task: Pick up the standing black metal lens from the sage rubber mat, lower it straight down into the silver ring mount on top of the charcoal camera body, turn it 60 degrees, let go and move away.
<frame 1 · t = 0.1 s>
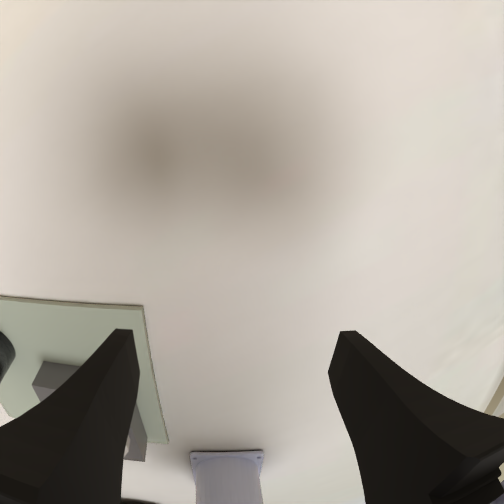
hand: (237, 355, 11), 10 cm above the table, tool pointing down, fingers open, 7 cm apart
camera body: (97, 404, 24), resting on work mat
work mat: (54, 377, 23), on the table
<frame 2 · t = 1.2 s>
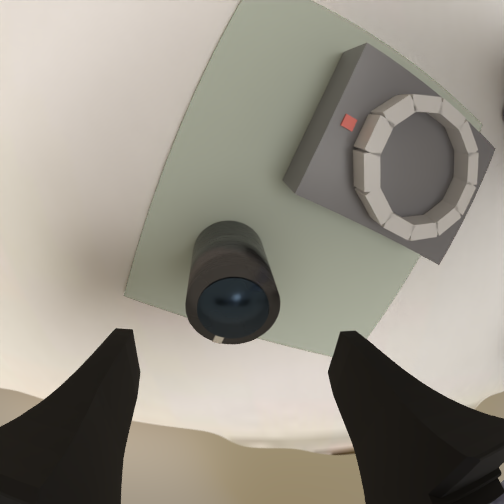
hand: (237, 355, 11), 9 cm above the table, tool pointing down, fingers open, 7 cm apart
lens: (228, 254, 18), resting on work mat
camera body: (387, 155, 17), resting on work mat
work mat: (319, 196, 18), on the table
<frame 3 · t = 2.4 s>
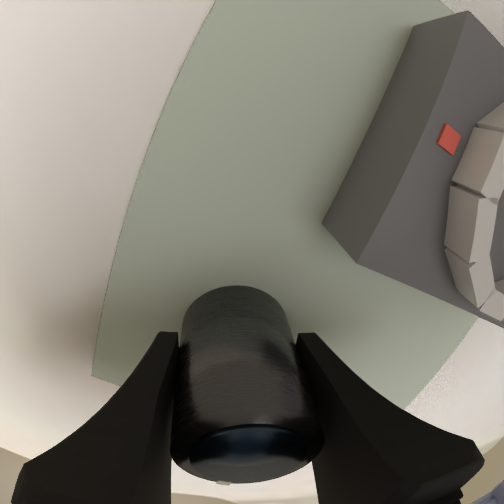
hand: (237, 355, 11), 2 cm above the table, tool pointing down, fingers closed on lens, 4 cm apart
lens: (234, 330, 12), resting on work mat, touching gripper
camera body: (466, 184, 10), resting on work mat
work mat: (371, 243, 12), on the table
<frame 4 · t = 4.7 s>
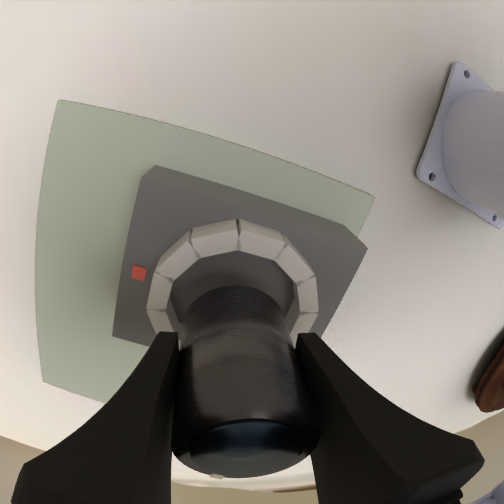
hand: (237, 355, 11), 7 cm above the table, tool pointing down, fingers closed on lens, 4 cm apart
lens: (234, 329, 12), point 6 cm above the table, touching gripper
camera body: (229, 266, 17), resting on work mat
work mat: (167, 310, 18), on the table
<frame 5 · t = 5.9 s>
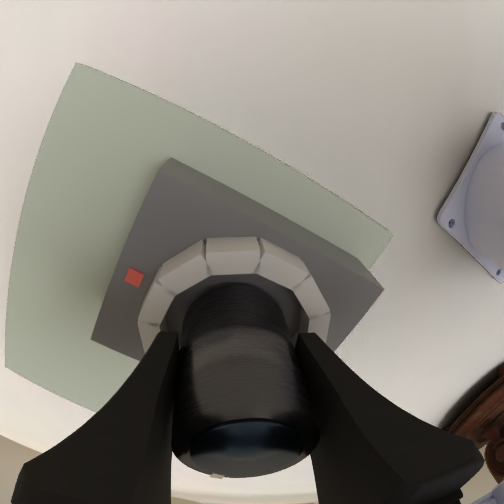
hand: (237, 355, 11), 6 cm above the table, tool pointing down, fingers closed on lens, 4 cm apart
scroll: (486, 400, 26), on the table
lens: (234, 329, 12), point 4 cm above the table, touching gripper
camera body: (230, 282, 15), resting on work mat
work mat: (152, 316, 16), on the table
when the fingers open (6 cm above the table, at t = 6.8 s): lens stays where it is, resting on camera body.
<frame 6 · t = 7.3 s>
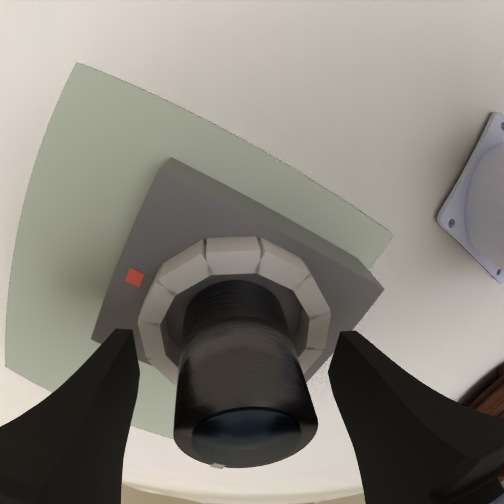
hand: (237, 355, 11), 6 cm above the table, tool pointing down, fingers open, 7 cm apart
scroll: (486, 400, 26), on the table
lens: (234, 323, 13), point 4 cm above the table, touching camera body
camera body: (230, 282, 15), resting on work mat
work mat: (152, 316, 16), on the table
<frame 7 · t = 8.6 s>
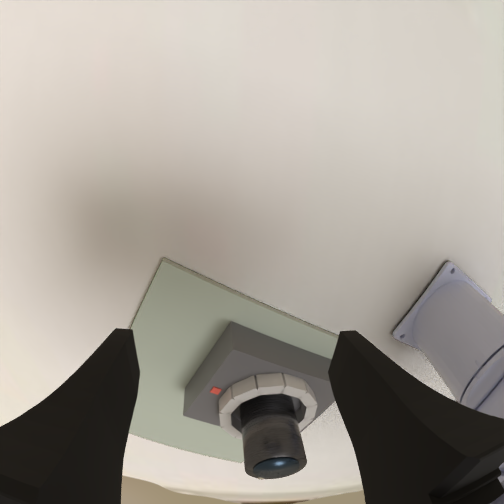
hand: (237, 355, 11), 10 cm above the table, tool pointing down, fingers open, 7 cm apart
lens: (266, 406, 22), point 4 cm above the table, touching camera body
camera body: (261, 377, 25), resting on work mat
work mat: (211, 392, 26), on the table
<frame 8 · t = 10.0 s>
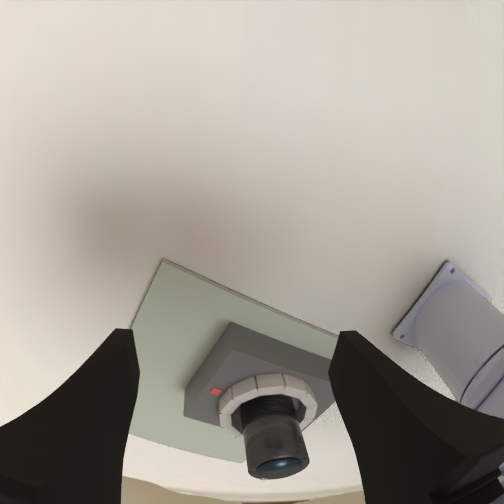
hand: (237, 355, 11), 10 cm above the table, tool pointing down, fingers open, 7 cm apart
lens: (266, 407, 22), point 4 cm above the table, touching camera body
camera body: (261, 377, 25), resting on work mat
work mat: (211, 393, 26), on the table
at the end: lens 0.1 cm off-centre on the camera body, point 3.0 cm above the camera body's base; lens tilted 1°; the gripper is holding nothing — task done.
